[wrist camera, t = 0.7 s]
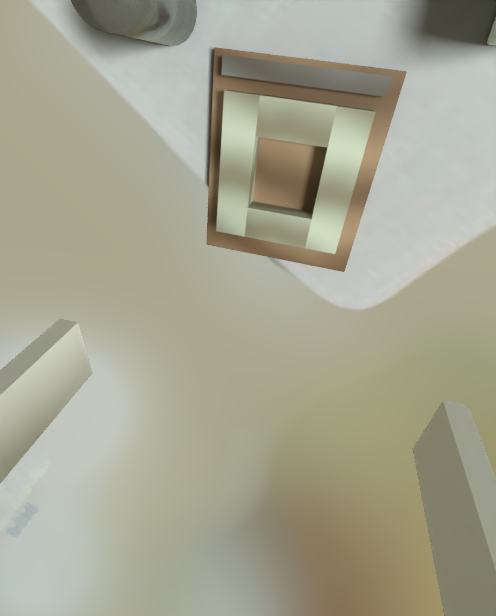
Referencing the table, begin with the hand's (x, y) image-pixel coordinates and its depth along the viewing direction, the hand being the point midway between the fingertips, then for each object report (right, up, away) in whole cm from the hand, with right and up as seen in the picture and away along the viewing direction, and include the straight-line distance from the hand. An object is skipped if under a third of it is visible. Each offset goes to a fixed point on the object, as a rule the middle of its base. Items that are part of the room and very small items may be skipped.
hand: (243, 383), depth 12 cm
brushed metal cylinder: (-6, +25, +13) cm, 29 cm away
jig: (+4, +15, +17) cm, 23 cm away
